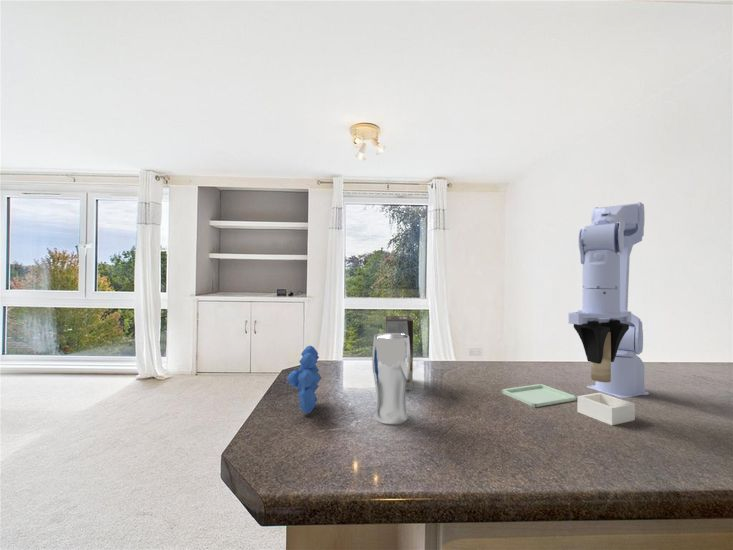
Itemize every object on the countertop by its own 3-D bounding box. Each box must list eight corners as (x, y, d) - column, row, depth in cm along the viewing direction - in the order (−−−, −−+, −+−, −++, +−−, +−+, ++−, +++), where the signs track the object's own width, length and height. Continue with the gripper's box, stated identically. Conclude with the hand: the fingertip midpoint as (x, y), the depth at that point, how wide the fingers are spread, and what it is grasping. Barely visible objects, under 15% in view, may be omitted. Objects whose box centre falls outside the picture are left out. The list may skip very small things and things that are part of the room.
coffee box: (413, 390, 75) (414, 320, 76) (385, 390, 76) (385, 320, 76) (409, 378, 85) (409, 315, 85) (384, 378, 85) (385, 315, 85)
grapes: (290, 398, 70) (291, 341, 70) (322, 397, 70) (323, 341, 71) (280, 422, 58) (281, 354, 58) (319, 421, 59) (320, 353, 59)
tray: (541, 388, 77) (541, 383, 77) (577, 402, 69) (577, 396, 69) (500, 395, 73) (500, 389, 73) (534, 410, 65) (534, 404, 65)
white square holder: (599, 410, 65) (599, 392, 65) (634, 423, 59) (634, 403, 59) (577, 414, 63) (577, 396, 63) (611, 428, 57) (611, 408, 57)
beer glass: (413, 413, 63) (413, 334, 63) (405, 428, 56) (405, 340, 56) (378, 408, 65) (378, 331, 65) (366, 422, 58) (367, 337, 59)
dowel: (598, 376, 63) (598, 330, 64) (614, 381, 61) (614, 332, 61) (587, 378, 62) (587, 330, 62) (603, 383, 60) (603, 333, 60)
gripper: (604, 287, 68) (604, 353, 68) (553, 288, 63) (553, 359, 63) (643, 289, 62) (643, 362, 61) (590, 289, 56) (590, 369, 56)
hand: (600, 361), depth 62 cm, fingers closed on dowel, 3 cm apart
